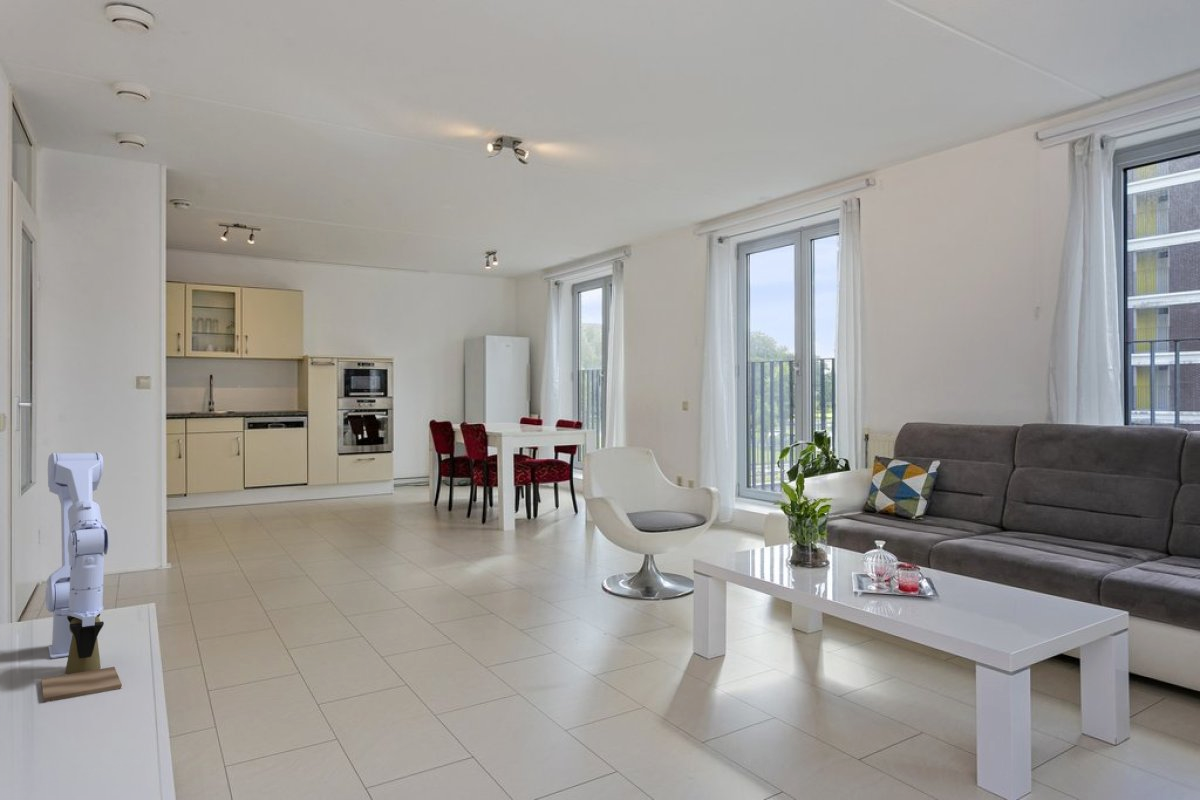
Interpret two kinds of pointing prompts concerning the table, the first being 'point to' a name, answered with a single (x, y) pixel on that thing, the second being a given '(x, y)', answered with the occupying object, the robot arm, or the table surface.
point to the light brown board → (80, 684)
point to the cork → (84, 663)
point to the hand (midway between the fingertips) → (83, 653)
